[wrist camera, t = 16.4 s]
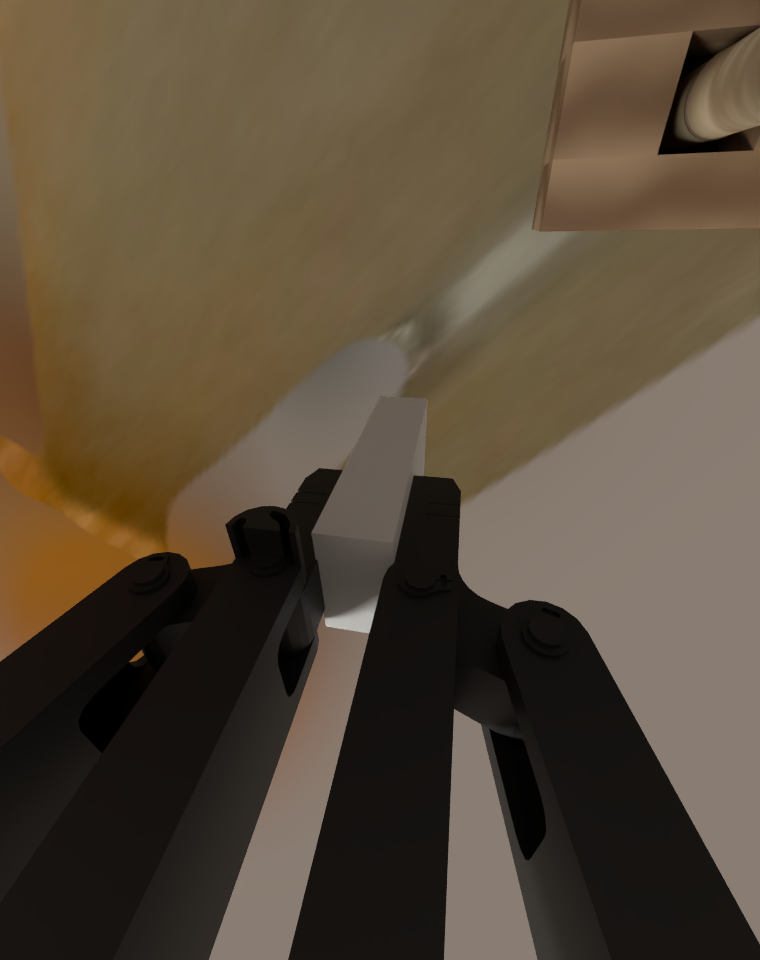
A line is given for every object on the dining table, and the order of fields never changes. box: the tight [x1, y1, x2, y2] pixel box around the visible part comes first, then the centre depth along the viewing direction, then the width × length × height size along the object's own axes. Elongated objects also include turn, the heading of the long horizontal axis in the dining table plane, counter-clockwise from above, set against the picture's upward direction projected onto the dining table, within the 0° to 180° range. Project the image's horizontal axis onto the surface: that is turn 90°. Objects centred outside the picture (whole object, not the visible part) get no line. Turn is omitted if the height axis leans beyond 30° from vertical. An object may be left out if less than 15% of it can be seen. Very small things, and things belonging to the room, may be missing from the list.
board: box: [532, 0, 760, 232], centre depth 22 cm, size 12×16×4 cm
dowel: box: [660, 28, 760, 150], centre depth 19 cm, size 4×4×14 cm
